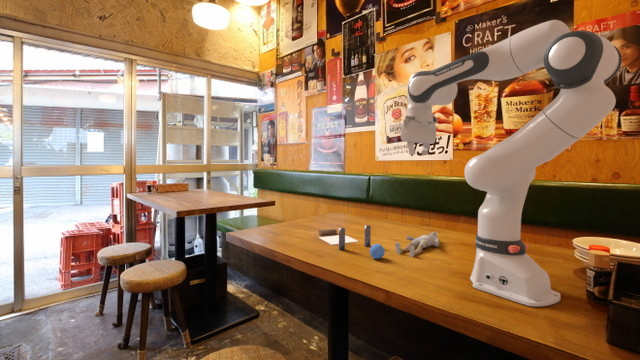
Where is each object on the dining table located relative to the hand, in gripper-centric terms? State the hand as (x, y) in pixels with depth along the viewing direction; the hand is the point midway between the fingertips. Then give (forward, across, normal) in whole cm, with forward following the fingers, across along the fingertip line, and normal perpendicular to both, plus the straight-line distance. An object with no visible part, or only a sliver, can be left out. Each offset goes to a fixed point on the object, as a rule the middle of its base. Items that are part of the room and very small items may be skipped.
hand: (418, 154), depth 115 cm
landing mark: (+39, -2, +39) cm, 55 cm away
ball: (+36, -12, +10) cm, 39 cm away
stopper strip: (+39, +2, +50) cm, 63 cm away
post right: (+39, -1, +23) cm, 45 cm away
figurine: (+40, +14, +6) cm, 42 cm away
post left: (+39, -13, +27) cm, 49 cm away
